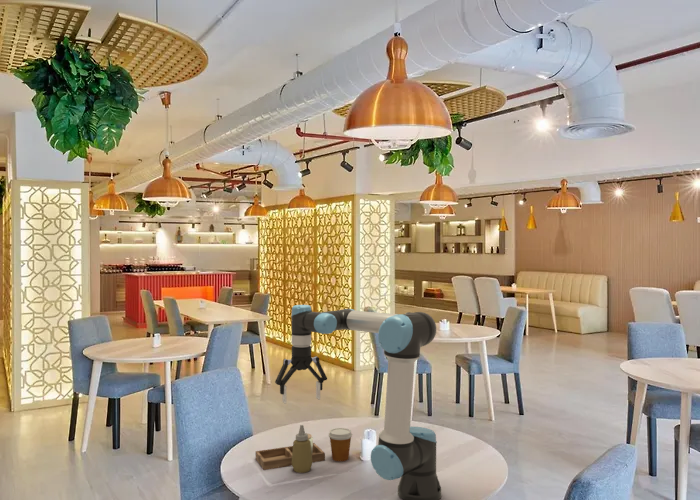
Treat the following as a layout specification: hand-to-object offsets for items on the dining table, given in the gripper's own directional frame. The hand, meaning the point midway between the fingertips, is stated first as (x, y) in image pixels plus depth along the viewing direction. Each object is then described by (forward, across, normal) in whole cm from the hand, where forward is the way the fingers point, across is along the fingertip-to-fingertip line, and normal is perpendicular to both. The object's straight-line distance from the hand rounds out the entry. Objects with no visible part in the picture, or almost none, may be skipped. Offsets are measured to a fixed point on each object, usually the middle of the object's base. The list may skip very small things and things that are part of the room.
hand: (301, 400), depth 228 cm
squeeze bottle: (+28, 0, 0) cm, 28 cm away
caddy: (+28, +1, -12) cm, 30 cm away
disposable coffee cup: (+28, -18, -5) cm, 33 cm away
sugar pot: (+26, -5, -12) cm, 29 cm away
